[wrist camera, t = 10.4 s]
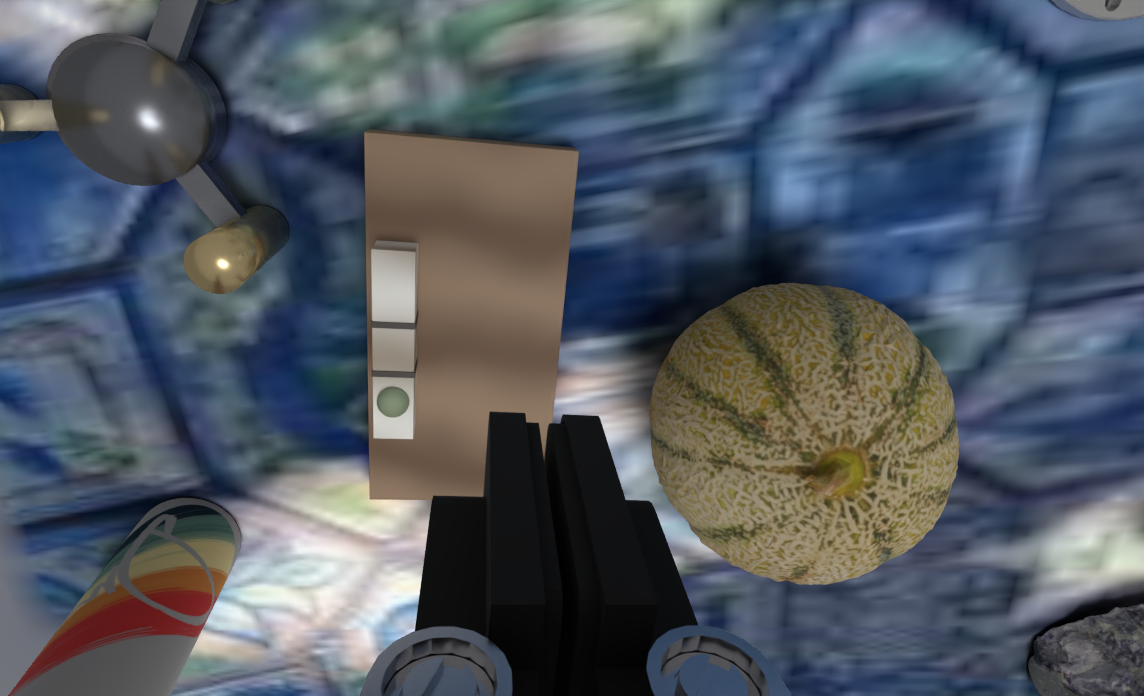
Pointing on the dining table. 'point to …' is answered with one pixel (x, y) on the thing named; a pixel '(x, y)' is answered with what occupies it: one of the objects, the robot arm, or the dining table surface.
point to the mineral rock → (1092, 656)
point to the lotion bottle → (141, 607)
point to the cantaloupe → (804, 433)
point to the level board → (460, 300)
